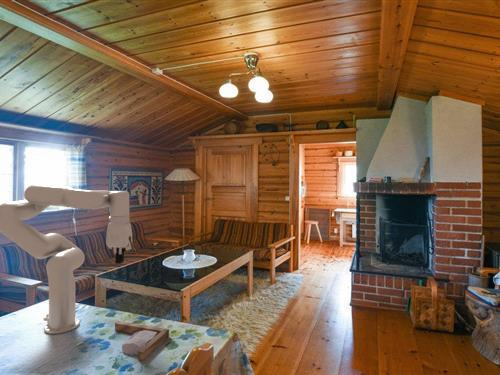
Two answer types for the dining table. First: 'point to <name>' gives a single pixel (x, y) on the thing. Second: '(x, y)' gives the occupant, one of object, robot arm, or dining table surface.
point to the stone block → (138, 341)
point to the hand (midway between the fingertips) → (119, 262)
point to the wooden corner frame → (134, 328)
